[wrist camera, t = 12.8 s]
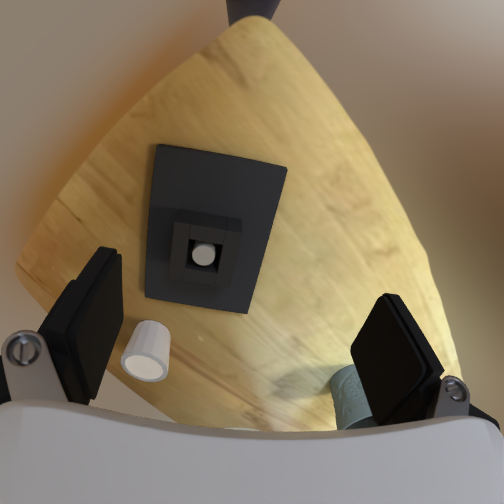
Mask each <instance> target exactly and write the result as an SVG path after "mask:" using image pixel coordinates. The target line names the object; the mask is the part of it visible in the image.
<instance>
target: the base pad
mask: <svg viewBox="0 0 504 504" xmlns="http://www.w3.org/2000/svg"><path fill="white" fill-rule="evenodd" d="M286 174H287V168H286V167H283V166H279V165H274V164H270V163H265V162H261V161H256V160H251V159H246V158H241V157H236V156H231V155H225V154H220V153H214V152H209V151H203V150H197V149H191V148H184V147H178V146H171V145H164V144H159V145H157V148H156V155H155V162H154V170H153V179H152V188H151V198H150V209H149V221H148V234H147V251H146V274H145V297H147V298H152V299H158V300H163V301H169V302H174V303H180V304H186V305H191V306H197V307H204V308H210V309H216V310H223V311H229V312H236V313H243V314H247V313H248V309H249V306H250V303H251V299H252V296H253V292H254V289H255V285H256V282H257V278H258V274H259V271H260V267H261V264H262V260H263V257H264V253H265V250H266V246H267V243H268V239H269V235H270V232H271V228H272V225H273V221H274V217H275V214H276V210H277V207H278V203H279V199H280V196H281V192H282V188H283V185H284V181H285V177H286ZM180 209H184V210H190V211H195V212H201V213H207V214H213V215H218V216H224V217H230V218H235V219H241V220H242V233H243V234H242V238H241V242H240V247H239V251H238V255H237V260H236V264H235V268H234V273H233V277H232V281H231V286H230V288H224V287H218V286H212V285H206V284H200V283H194V282H188V281H183V280H177V279H171V278H169V267H170V256H171V246H172V237H173V228H174V221H175V219H176V217H177V215H178V212H179V210H180ZM220 249H221V244H215V243H209V242H204V241H198V240H192V239H191V241H190V248H189V253H192V257H193V260H194V261H195V262H196V263H197V264H199V265H209V264H211V263H212V262H213V261H214V258H215V257H218V258H219V254H220Z"/></svg>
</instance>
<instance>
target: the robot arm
mask: <svg viewBox="0 0 504 504" xmlns="http://www.w3.org/2000/svg"><path fill="white" fill-rule="evenodd" d="M122 323H123V294H122V256H121V254H117V250H116V249H113V248H107V247H102V246H100V247H99V248H98V249H97V251H96V252H95V253H94V255H93V256H92V258H91V259H90V260H89V262H88V263H87V264H86V266H85V267H84V269H83V270H82V272H81V273H80V274H79V276H78V277H77V279H76V280H71V281H70V282H69V283H68V285H67V286H66V288H65V289H64V291H63V292H62V293H61V295H60V296H59V298H58V299H57V301H56V302H55V304H54V306H53V307H52V309H51V310H50V312H49V313H48V315H47V317H46V318H45V320H44V321H43V323H42V325H41V326H40V328H39V330H38V331H37V332H35V331H32V330H21V331H18V332H15V333H13V334H11V335H10V336H9V337H8V338H7V339H6V340H5V342H4V343H3V346H2V353H1V354H2V355H0V504H504V437H503V436H502V434H501V432H500V428H499V424H498V422H497V421H496V420H495V419H493V418H492V417H490V416H489V415H487V414H486V413H484V412H483V411H481V410H479V409H478V408H476V407H475V406H473V405H472V404H470V393H469V390H468V388H467V387H466V385H465V384H464V383H463V381H461V380H460V379H459V378H457V377H455V376H450V375H449V376H445V377H444V378H443V379H442V380H441V379H440V376H441V375H442V373H443V372H444V371H445V370H444V368H443V367H442V365H441V363H440V361H439V359H438V358H437V356H436V354H435V353H434V351H433V349H432V347H431V346H430V344H429V342H428V341H427V339H426V337H425V336H424V334H423V332H422V331H421V329H420V327H419V326H418V324H417V323H416V321H415V319H414V318H413V316H412V315H411V313H410V311H409V310H408V308H407V307H406V305H405V304H404V302H403V301H402V299H401V298H400V296H399V295H397V294H389V293H384V294H383V295H382V296H380V297H379V298H378V299H377V301H376V303H375V305H374V307H373V308H372V310H371V312H370V314H369V316H368V318H367V319H366V321H365V323H364V325H363V326H362V328H361V330H360V332H359V333H358V335H357V337H356V338H355V340H354V342H353V344H352V345H351V350H350V352H351V356H352V359H353V361H354V364H355V367H356V370H357V373H358V375H359V378H360V381H361V384H362V387H363V390H364V393H365V396H366V399H367V402H368V404H369V407H370V410H371V414H372V417H373V419H374V421H375V422H377V424H378V427H371V428H361V429H349V430H334V431H310V432H271V431H247V430H232V429H220V428H210V427H201V426H193V425H186V424H179V423H172V422H166V421H160V420H155V419H149V418H143V417H138V416H133V415H128V414H124V413H119V412H115V411H110V410H106V409H101V408H97V407H91V406H88V404H89V402H90V399H93V400H94V399H95V398H96V396H97V392H98V390H99V386H100V384H101V381H102V378H103V375H104V371H105V369H106V366H107V363H108V361H109V358H110V355H111V352H112V349H113V347H114V344H115V341H116V339H117V336H118V334H119V331H120V328H121V326H122Z"/></svg>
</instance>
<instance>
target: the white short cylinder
mask: <svg viewBox="0 0 504 504" xmlns="http://www.w3.org/2000/svg"><path fill="white" fill-rule="evenodd" d="M170 338H171V336H170V332H169V330H168V329H167V328H166V327H165V326H164V325H162V324H161V323H159V322H156V321H153V320H145V321H142V322H139V324H138V325H137V326H136V327H135V330H134V332H133V334H132V336H131V338H130V340H129V342H128V344H127V346H126V348H125V351H124V353H123V355H122V357H121V365H122V367H123V369H124V370H125V371H126V372H127V373H128V374H129V375H131V376H133V377H134V378H136V379H139V380H142V381H146V382H157V381H161V380H163V379H164V378H165V377H167V373H168V365H169V351H170Z"/></svg>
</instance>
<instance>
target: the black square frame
mask: <svg viewBox="0 0 504 504" xmlns="http://www.w3.org/2000/svg"><path fill="white" fill-rule="evenodd" d="M242 234H243V233H242V220H241V219H235V218H230V217H224V216H218V215H213V214H207V213H201V212H195V211H190V210H184V209H180V210H179V212H178V215H177V217H176V219H175V221H174V228H173V237H172V246H171V256H170V267H169V278H171V279H177V280H183V281H188V282H194V283H200V284H206V285H212V286H218V287H224V288H230V286H231V281H232V277H233V273H234V268H235V264H236V260H237V255H238V251H239V247H240V242H241V238H242ZM191 239H192V240H198V241H204V242H209V243H215V244H221V249H220V254H219V258H218V257H215V258H214V261H213V262H212V263H211V264H209V265H199V264H197V263H196V262H195V261H194V260H193V257H192V253H189V248H190V241H191Z"/></svg>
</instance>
